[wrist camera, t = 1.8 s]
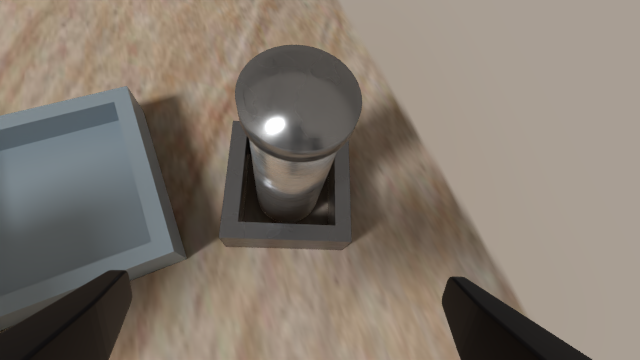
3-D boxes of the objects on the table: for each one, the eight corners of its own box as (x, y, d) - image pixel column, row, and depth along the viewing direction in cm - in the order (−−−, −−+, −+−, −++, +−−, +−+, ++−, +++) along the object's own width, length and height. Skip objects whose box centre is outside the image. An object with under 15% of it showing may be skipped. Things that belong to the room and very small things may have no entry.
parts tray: (186, 258, 21) (173, 251, 18) (-32, 342, 18) (-87, 348, 15) (143, 110, 25) (127, 86, 22) (-46, 159, 22) (-93, 137, 19)
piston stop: (281, 241, 22) (290, 176, 11) (239, 188, 23) (208, 80, 12) (334, 199, 24) (387, 106, 13) (292, 151, 25) (308, 27, 14)
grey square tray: (341, 250, 23) (351, 242, 20) (225, 246, 22) (218, 237, 19) (340, 148, 26) (348, 129, 23) (237, 141, 25) (233, 120, 22)
